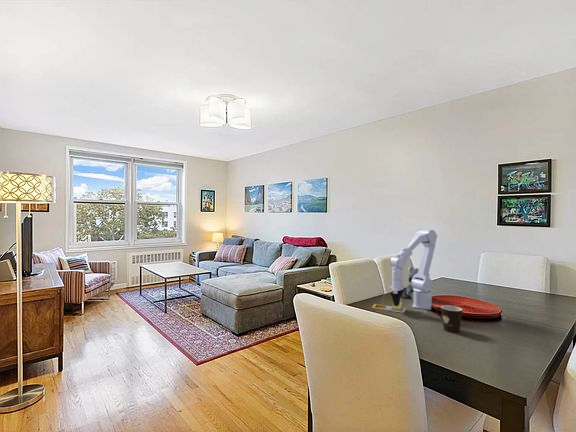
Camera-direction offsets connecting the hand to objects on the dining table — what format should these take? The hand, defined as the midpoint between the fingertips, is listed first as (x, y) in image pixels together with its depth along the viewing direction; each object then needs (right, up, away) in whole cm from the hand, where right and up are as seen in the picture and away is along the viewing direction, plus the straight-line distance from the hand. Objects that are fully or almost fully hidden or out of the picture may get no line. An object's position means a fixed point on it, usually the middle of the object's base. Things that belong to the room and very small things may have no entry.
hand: (397, 304), depth 167 cm
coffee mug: (+14, -4, -27) cm, 31 cm away
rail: (-4, -3, +2) cm, 6 cm away
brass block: (0, -4, 0) cm, 4 cm away
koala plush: (+21, -4, +25) cm, 33 cm away
